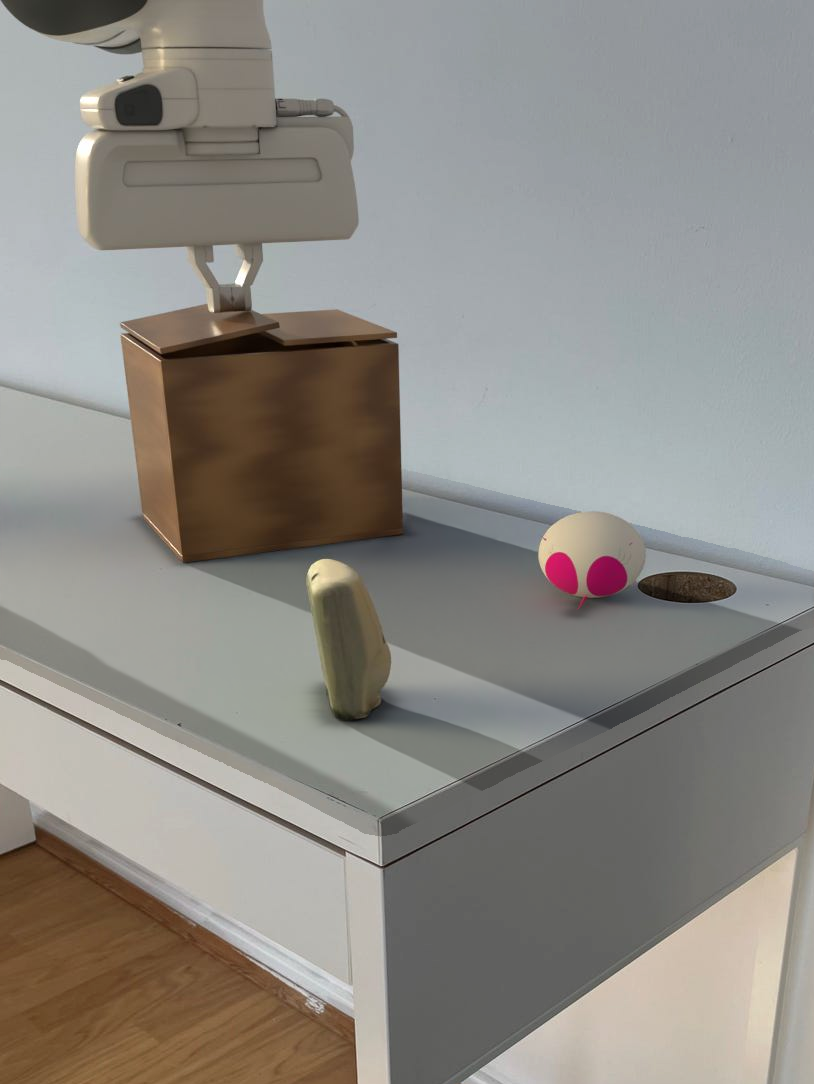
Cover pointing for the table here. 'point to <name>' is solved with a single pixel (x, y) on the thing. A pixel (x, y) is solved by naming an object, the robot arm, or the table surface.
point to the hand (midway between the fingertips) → (230, 311)
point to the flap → (195, 327)
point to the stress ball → (592, 554)
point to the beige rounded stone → (347, 639)
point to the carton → (269, 437)
